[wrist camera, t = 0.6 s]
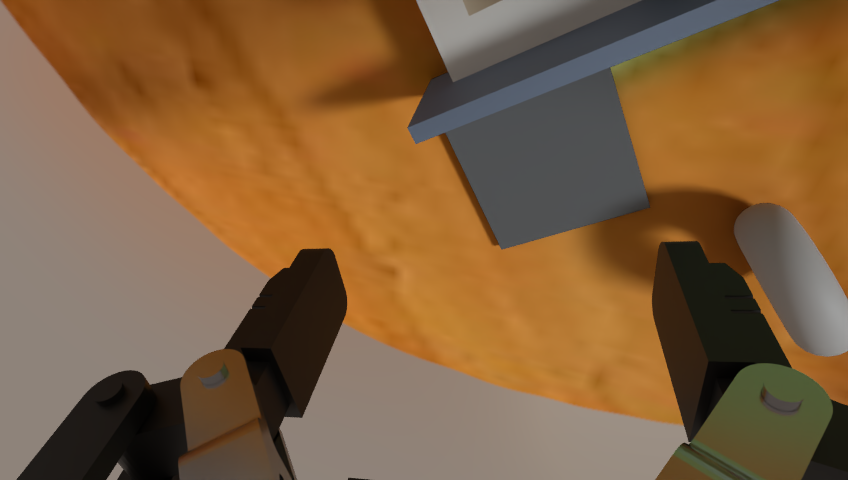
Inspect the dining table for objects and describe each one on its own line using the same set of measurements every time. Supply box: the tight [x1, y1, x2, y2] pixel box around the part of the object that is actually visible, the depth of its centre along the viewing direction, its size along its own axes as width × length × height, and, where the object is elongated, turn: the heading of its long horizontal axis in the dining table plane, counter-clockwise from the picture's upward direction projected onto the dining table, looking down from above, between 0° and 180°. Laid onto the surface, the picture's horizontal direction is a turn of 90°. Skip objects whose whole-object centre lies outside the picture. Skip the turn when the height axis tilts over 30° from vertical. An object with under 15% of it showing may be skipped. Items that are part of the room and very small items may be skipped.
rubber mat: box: [445, 67, 650, 249], centre depth 35 cm, size 11×11×1 cm
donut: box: [734, 203, 848, 357], centre depth 31 cm, size 10×3×10 cm, turn 40°
